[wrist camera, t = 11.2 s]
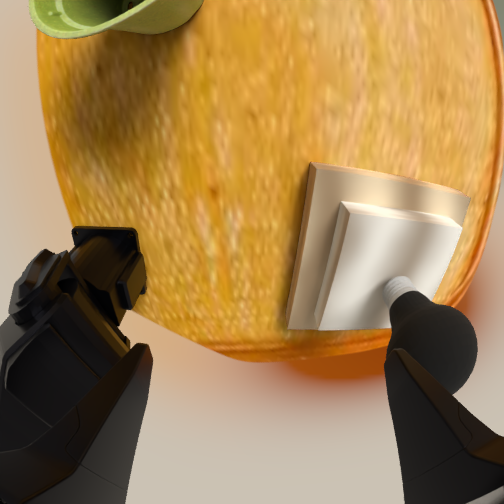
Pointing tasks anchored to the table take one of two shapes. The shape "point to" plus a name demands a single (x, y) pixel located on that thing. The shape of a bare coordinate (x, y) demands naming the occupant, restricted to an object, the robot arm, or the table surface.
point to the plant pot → (109, 16)
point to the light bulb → (430, 334)
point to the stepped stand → (368, 244)
